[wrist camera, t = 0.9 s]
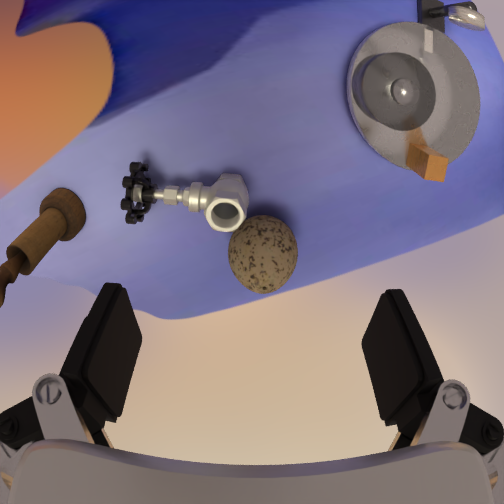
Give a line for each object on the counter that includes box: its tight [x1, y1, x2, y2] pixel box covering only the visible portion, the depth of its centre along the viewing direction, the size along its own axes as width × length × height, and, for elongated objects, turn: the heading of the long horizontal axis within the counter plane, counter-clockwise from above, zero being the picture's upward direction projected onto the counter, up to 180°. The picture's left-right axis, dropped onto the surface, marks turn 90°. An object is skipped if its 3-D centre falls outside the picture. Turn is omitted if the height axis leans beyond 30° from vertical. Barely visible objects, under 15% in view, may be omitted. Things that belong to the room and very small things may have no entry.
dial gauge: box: [417, 0, 485, 33], centre depth 15 cm, size 4×4×9 cm
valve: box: [121, 162, 249, 232], centre depth 28 cm, size 7×7×12 cm
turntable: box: [347, 22, 480, 182], centre depth 21 cm, size 16×16×6 cm
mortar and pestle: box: [0, 188, 86, 307], centre depth 25 cm, size 7×6×18 cm
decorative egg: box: [228, 215, 298, 294], centre depth 30 cm, size 7×7×10 cm
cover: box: [351, 52, 436, 131], centre depth 20 cm, size 7×7×4 cm
